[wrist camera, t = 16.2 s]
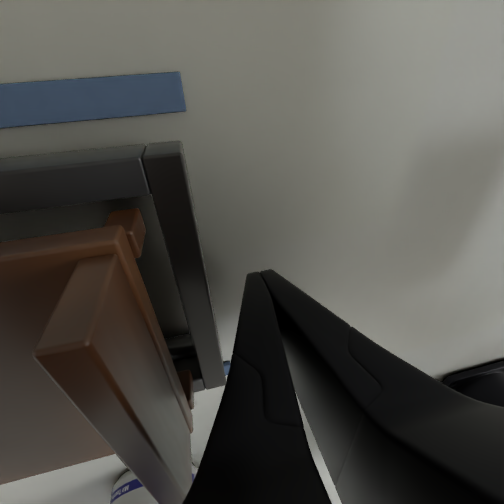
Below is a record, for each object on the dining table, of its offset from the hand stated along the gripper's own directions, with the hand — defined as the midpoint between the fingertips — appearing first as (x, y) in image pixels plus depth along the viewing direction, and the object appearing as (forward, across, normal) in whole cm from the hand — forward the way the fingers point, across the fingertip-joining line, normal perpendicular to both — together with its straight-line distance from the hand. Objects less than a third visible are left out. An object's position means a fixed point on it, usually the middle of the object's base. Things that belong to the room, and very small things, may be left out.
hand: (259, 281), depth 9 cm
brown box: (+1, +6, 0) cm, 6 cm away
